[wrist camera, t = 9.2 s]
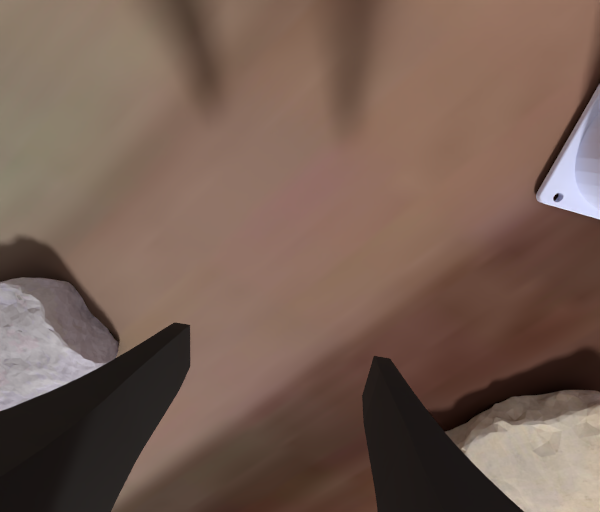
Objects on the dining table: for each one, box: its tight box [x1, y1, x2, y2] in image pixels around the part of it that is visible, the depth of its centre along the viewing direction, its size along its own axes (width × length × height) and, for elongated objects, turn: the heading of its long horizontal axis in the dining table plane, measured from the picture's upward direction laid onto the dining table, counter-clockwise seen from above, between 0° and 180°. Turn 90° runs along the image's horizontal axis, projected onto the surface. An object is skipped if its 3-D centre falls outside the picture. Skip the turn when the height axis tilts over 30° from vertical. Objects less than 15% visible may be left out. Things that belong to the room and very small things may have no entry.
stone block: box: [0, 277, 119, 411], centre depth 23 cm, size 12×5×10 cm
